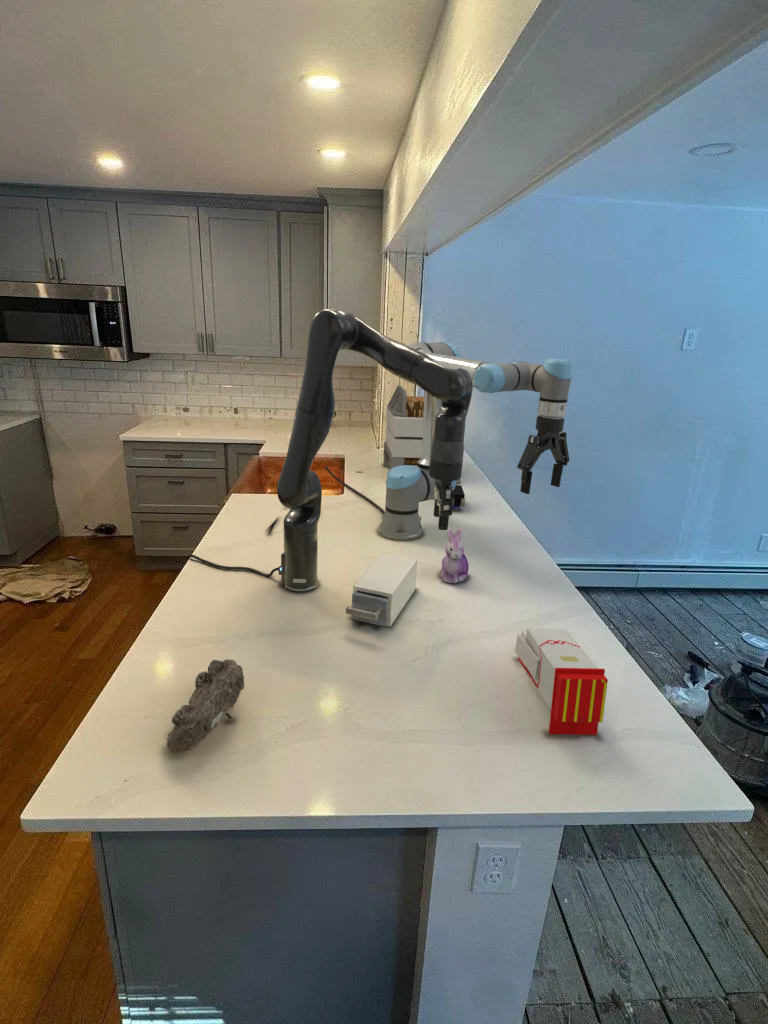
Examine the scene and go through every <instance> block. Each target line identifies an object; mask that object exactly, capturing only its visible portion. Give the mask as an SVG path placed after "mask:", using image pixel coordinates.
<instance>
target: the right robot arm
mask: <svg viewBox="0 0 768 1024" xmlns="http://www.w3.org/2000/svg"><path fill="white" fill-rule="evenodd" d="M407 346H409V347H411V348H413V349H415V350H418V351H420V352H422V353H424V354H426V355H428V356H430V357H431V358H432V359H433V360H434V362H435V363H437V364H439V365H441V366H443V367H446V368H448V369H454V368H462V369H465V370H466V371H467V372H468V373H469V374H470V375H471V378H472V381H473V389H477V390H478V391H479V392H480V393H484V394H485V393H487V394H494V393H502V392H518V391H529V392H534V393H539V399H538V405H537V410H536V411H537V417H536V419H535V426H534V427H535V429H536V431H537V433H536V435H534V434H529V436H528V439H527V443H526V446H525V447H524V450H523V452H522V455H521V457H520V459H519V461H518V463H517V466H516V468H517V469H519V470H521V476H520V477H521V478H520V483H521V484H520V491H519V492H520V493H523V494H526V495H529V494H530V493H531V492H530V491H531V485H532V480H533V479H532V478H533V471H532V469H533V468H534V466H535V465H536V463H537V461H538V460H539V458H540V456H541V455H542V454H543V453H545V452H546V451H548V450H550V452H551V454H552V457H553V459H554V461H555V463H553V467H552V474H551V479H550V486H553V487H555V488H560V487H561V481H562V476H563V470H564V466H567V465H568V463H569V462H570V454H569V448H568V442H567V435H568V433H567V432H566V431H564V427H565V418H564V417H565V416H566V412H567V406H568V401H569V399H568V397H569V391H570V387H571V382H572V378H573V362H572V361H571V360H569V359H565V358H554V357H553V358H552V357H550V358H545V360H544V362H543V364H540V363H539V364H538V363H532V362H527V361H513V362H510V363H497V362H490V361H483V360H478V359H471V358H465V357H462V354H461V352H460V350H459V349H458V347H457V346H456V345H454V344H453V343H451V342H442V341H439V342H438V341H437V342H422V341H421V342H420V341H419V342H412V343H410V344H408V345H407ZM423 397H424V412H423V444H422V458H421V459H419V460H418V466H413V465H402V466H397V467H394V468H392V469H391V470H390V469H389V470H388V472H387V475H386V479H385V504H384V505H385V507H384V508H385V509H383V508H382V507H380V506H379V505H378V504H377V503H376V502H375V501H373V500H371V498H369V497H368V496H366V495H364V494H362V493H361V492H359V491H358V490H356V489H355V488H353V487H351V486H350V485H348V484H347V483H346V482H344V481H342V480H341V479H340V478H339V477H337V476H336V475H335V474H334V473H333V472H332V471H331V470H330V469H329V468H328V467H327V466H325V467H324V468H325V470H326V471H327V472H328V473H329V474H330V475H331V476H332V477H333V478H334V479H335V480H336V481H338V483H340V484H342V485H343V486H344V487H346V488H347V489H349V490H350V491H352V492H353V493H355V494H357V495H358V496H360V497H361V498H362V499H364V500H366V501H367V502H369V504H371V505H373V506H374V507H375V508H377V509H378V510H379V511H380V512H381V513H382V519H381V522H379V526H378V533H379V534H380V535H381V536H382V537H385V538H387V539H389V540H395V541H410V540H415V539H418V538H420V537H421V536H422V535H423V525H422V524H421V521H422V516H420V515H419V507H420V506H419V505H420V503H421V502H426V501H427V502H428V501H432V500H434V495H433V493H434V484H435V479H433V478H431V477H430V476H429V466H430V455H431V445H432V441H433V434H434V422H435V417H436V415H437V413H438V412H439V411H440V408H441V402H442V401H441V400H438V399H436V398H435V397H433V396H431V395H430V394H428V393H427V392H426V391H424V390H423ZM451 484H452V487H453V490H454V488H455V485H457V483H456V481H455V480H454V481H452V482H451Z"/></svg>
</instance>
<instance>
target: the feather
mask: <svg viewBox="0 0 768 1024" xmlns="http://www.w3.org/2000/svg"><path fill="white" fill-rule="evenodd" d="M285 509H287V508H286V507H285ZM279 517H280V516H278V517H277V518H276V519H275V520H274V521H273V522H272V523H271V524H270V525H269V526H268V528H266V531H267V530H268V531H269V532H268V535H270V533H271V532H272V530H273V528H274V527H275V525H276V523H277V521H278V519H279Z"/></svg>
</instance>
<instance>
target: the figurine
mask: <svg viewBox="0 0 768 1024" xmlns="http://www.w3.org/2000/svg"><path fill="white" fill-rule="evenodd" d="M446 531H447V532H446V534H447V543H446V546H445V548H444V549H445V554H446V555H444V557H443V558H442V560H441V569H440V577H441V578H442V580H443V582H445V583H451V584H457V583H461V582H463V581H465V580H466V579H467V577H468V574H469V569H470V568H469V567H470V566H469V565H470V564H469V561H468V558H467V556H466V555H465V554H464V553H465V547H464V545H463V542H462V535H463V529H462V528H459V529H458V530H457V531H456V533H455V535H454V534H453V532H452V530H451V529H447V530H446Z"/></svg>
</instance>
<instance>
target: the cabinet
mask: <svg viewBox="0 0 768 1024" xmlns="http://www.w3.org/2000/svg"><path fill="white" fill-rule="evenodd" d="M417 571H418V559H415V558H410V557H405V556H398V555H393V554H387V553H382V554H381V555H380V556H379V557H378V558H377V559H376V560H375V562H374V563H373V564H372V565H371V566H370V567H368V569H367V570H366V571H365V572H364V573H363V575H362V576H361V577H360V578H359V579H358V580H357V581H356V582H355V584H354V585H353V587H352V593H353V592H357V593H360V591H362V592H367V593H372V594H376V595H381V596H386V597H388V616H387V625H386V627H392V625H393V623H395V621H396V619H397V617H398V616H399V615H400V613H401V612H402V610H403V608H404V607H405V605H406V604H407V603H408V602H409V600H410V598H411V596H412V595H413V593H414V592H415V591H416V587H417V586H416V585H417Z"/></svg>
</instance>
